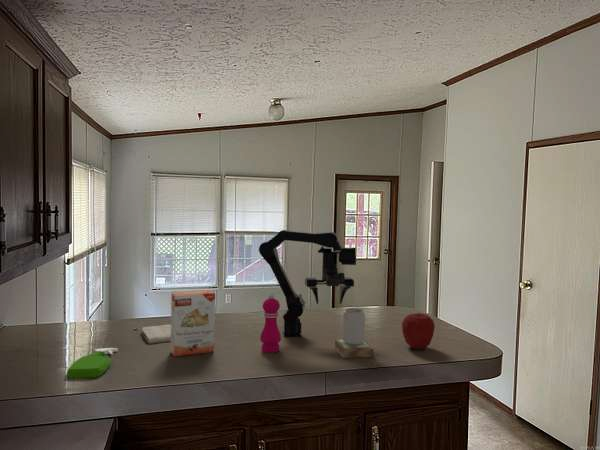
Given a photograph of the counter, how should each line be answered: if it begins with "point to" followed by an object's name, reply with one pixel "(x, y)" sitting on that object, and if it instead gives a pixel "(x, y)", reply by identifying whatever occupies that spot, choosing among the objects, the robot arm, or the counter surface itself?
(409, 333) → the apple
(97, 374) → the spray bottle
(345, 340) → the can
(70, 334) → the counter surface
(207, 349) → the cracker box
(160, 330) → the washcloth
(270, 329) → the pepper mill
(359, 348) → the plinth
